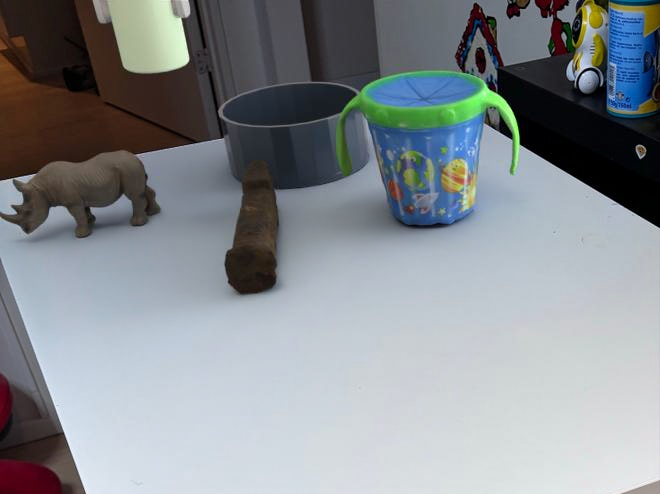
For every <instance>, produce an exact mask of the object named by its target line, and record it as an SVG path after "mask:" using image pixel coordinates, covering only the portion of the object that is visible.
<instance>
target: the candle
mask: <svg viewBox="0 0 660 494" xmlns="http://www.w3.org/2000/svg"><path fill="white" fill-rule="evenodd" d="M107 2H108V6H109V10H110V14H111V19H112V27H113V31H114V35H115V39H116V43H117V47H118V51H119V55H120V60H121V63H122V67H123V68H124V69H125V70H126V71H128V72H131V73H134V74H135V73H136V74H159V73H165V72H171V71H174V70H178V69H181V68H183V67H185V66H187V64H188V63H189V62H190V55H189V50H188V49H189V48H188V45H187V40H186V35H185V30H184V26H183V21H182V18H176V17H175V16H174V14H173V10H172V5H171V0H107Z"/></svg>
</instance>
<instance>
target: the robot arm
mask: <svg viewBox="0 0 660 494" xmlns="http://www.w3.org/2000/svg"><path fill="white" fill-rule="evenodd" d="M92 3H93V6H94V7H93V8H94V10H95V14H96V18H97V20H98V22H99V23H100V24H110V23H112V19H111V14H110V10H109V6H108V2H107V0H92ZM171 5H172V10H173V14H174V16H175V17H176V18H181V19H186V18H188V17H189V16H190V15H191V6H190V2H189V0H171ZM112 24H113V23H112Z"/></svg>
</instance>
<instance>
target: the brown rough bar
mask: <svg viewBox="0 0 660 494" xmlns="http://www.w3.org/2000/svg"><path fill="white" fill-rule="evenodd" d="M240 183H241V191H242V196H241V204H240V208H239V213H238V217H237V220H236V225H235V229H234V235H233V242H232V246H231V247H232V248H230V249H227V250H226V252H225V255H224V263H223V265H224V270H225V274H226V278H227V279H228V280H227V284H228V285H230V286H231V288H233V290H235V291H236V292H237V293H239V294H241V295H244V294H245V295H246V294H257V293H260V292H263V291H267V290H270V289H272V288H273V287H274V286H276V283H277V279H278V275H277V273H276V270H277V267H278V260H277V257H276V252H277V228H278V226H279V225H280V217H279V209H278V203H277V194H276V193H277V192H276V191H275V188H274V187H273V182H272V177H271V173H270V169H269V166H268V165H267V164H266V162H264V161H262V160H257V161H255V162H252V163H250V164H249V165H248V166H247V169H246V171H245V173H244V174H243V176H242V182H240Z"/></svg>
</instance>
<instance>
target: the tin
mask: <svg viewBox="0 0 660 494" xmlns="http://www.w3.org/2000/svg"><path fill="white" fill-rule="evenodd" d="M360 92H361V91H360V90H358V89H356V88H354V87H352V86H349V85H346V84H342V83H336V82H335V83H334V82H328V81H327V82H326V81H301V82H300V81H299V82H287V83H281V84H274V85H269V86H264V87H259V88H255V89H252V90H249V91H246V92H243V93H239V94H238V95H236V96H234V97H231V98H229V99H228V100H227V101H225V102H224V103H222V104H221V106H220V107H219V109H218V110H217V112H218V117H219V122H220V127H221V131H222V135H223V140H224V145H225V149H226V154H227V158H228V163H229V167H230V173H231V174H232V176H233V178H234V179H235V180H237V181H238V182H240V183H241V182H242V176H243V174H244V173H245V171H246V169H247V166H248V165H249V164H250V163H252V162H255V161H257V160H262V161H264V162H266V164H267V165H268V166H269V169H270V173H271V177H272V182H273V187H274V189H281V190H282V189H297V188H307V187H314V186H320V185H323V184H327V183H331V182H335V181H338V180H341V179H344V178H346V177H347V176H345V175H344V174H343V173H342V171H341V168H340V166H339V162H338V158H337V152H336V130H337V124H338V121H339V118H340V115H341V113H342V111H343V110H344V108H345V107H346V106H347V104H348V103H349V102H350V101H351V100H352V99H353V98H354V97H356V96H357V95H359V94H360ZM366 122H367V121H366V119H365V117H364V115H363V114H362V112H361V111H360V110H358V109H355V108H354V109H353V110H352V111H351V112H350V113H349V114H348V116H347V118H346V124H345V131H344V134H345V138H346V142H347V146H348V150H349V154H350V159H351V162H352V171H351V174H350V175H349V176H351V175H353V174H355V173H357V172H359V171H360V170H362V169H363V168H364V166H366V165H367V163H368V162H369V159H370V147H369V138H368V131H367V123H366Z"/></svg>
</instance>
